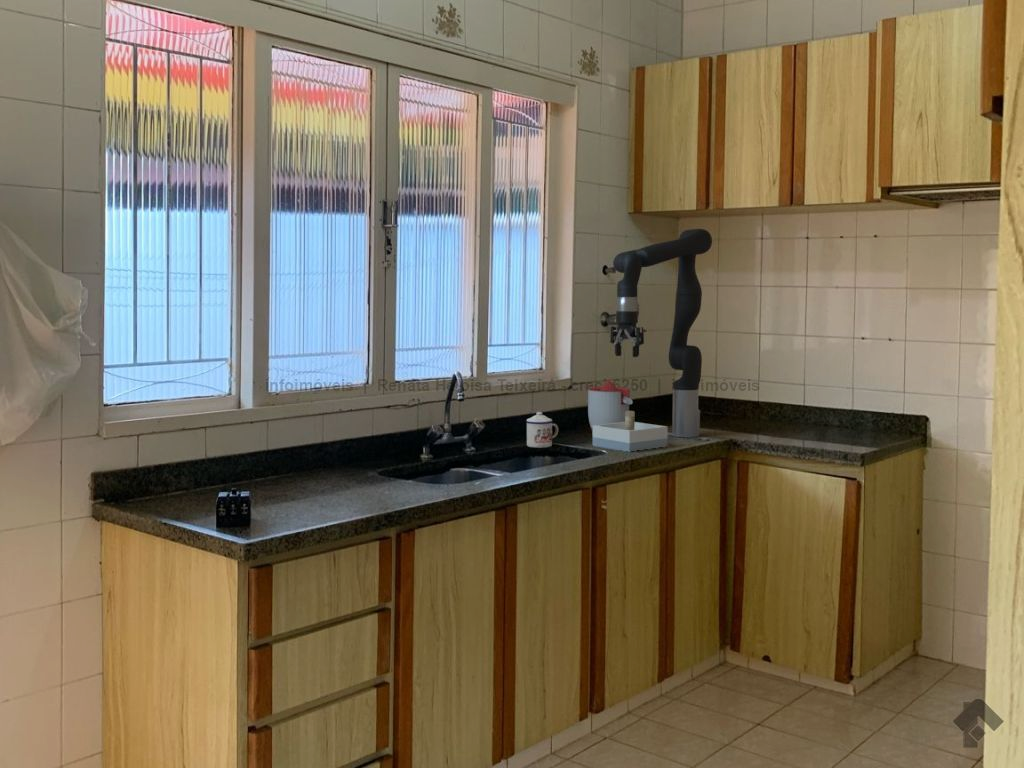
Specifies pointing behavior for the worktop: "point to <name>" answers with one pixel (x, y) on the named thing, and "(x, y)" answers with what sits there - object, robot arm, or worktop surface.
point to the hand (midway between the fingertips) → (626, 356)
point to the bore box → (629, 436)
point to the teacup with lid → (540, 431)
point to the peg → (629, 420)
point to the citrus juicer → (607, 404)
